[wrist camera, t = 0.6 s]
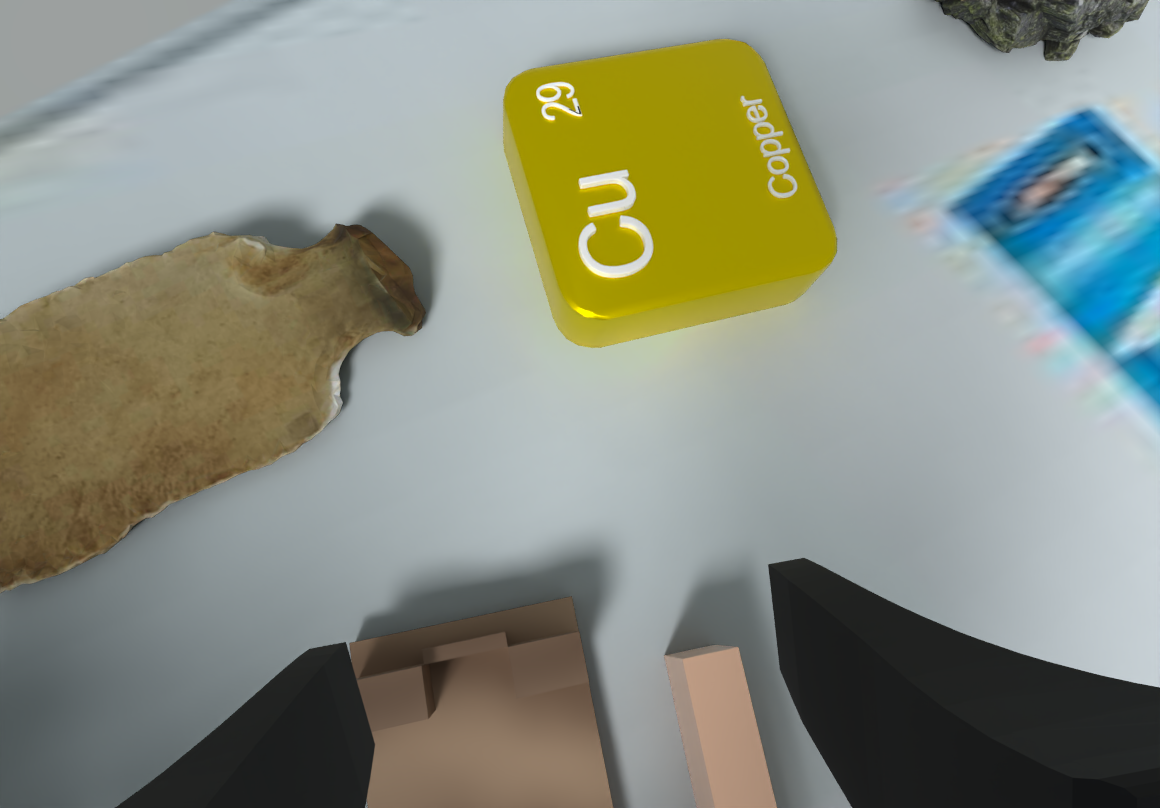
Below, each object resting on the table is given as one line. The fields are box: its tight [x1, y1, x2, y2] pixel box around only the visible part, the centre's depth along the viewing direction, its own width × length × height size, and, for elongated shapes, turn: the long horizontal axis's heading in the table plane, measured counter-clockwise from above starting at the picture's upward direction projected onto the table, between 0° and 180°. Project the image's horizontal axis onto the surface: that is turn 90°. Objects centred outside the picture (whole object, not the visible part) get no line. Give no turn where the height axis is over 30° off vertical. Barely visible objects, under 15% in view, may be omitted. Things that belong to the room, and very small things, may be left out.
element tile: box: [503, 39, 837, 348], centre depth 39 cm, size 15×15×5 cm
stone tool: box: [0, 224, 426, 593], centre depth 34 cm, size 12×4×25 cm
